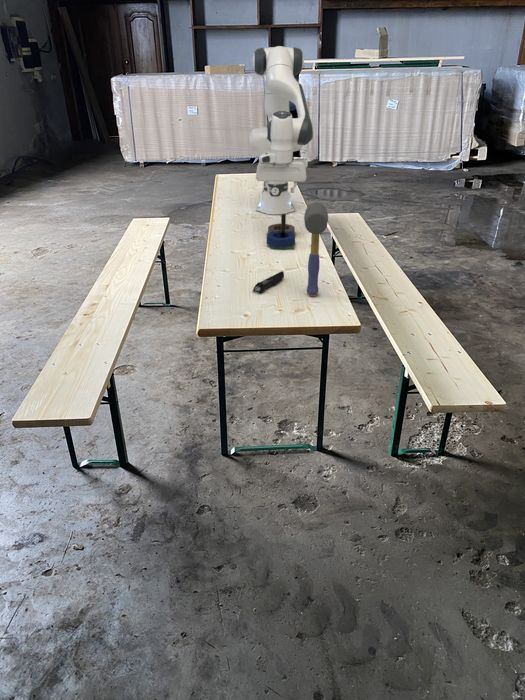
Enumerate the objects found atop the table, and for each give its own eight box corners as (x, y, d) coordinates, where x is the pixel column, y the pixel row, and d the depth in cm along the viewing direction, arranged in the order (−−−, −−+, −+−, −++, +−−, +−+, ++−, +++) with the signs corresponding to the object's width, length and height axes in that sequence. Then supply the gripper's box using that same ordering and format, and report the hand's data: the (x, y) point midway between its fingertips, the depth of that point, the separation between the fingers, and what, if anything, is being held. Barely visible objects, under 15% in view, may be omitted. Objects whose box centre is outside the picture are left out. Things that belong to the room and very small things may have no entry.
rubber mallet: (323, 303, 172) (329, 211, 156) (300, 302, 172) (304, 211, 157) (323, 288, 182) (328, 200, 167) (301, 287, 183) (304, 200, 168)
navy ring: (268, 237, 225) (268, 230, 223) (295, 238, 224) (295, 231, 222) (265, 246, 215) (265, 239, 213) (294, 247, 214) (294, 240, 212)
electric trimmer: (286, 280, 189) (287, 271, 187) (261, 294, 178) (261, 285, 176) (278, 277, 191) (278, 269, 189) (252, 291, 180) (252, 283, 178)
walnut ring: (268, 230, 237) (269, 223, 236) (294, 230, 237) (294, 223, 235) (267, 238, 227) (267, 231, 226) (294, 239, 227) (294, 232, 225)
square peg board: (272, 241, 224) (273, 210, 217) (294, 242, 224) (294, 211, 217) (271, 248, 216) (271, 217, 210) (293, 249, 216) (294, 217, 209)
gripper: (307, 155, 210) (306, 190, 217) (256, 154, 211) (256, 189, 218) (307, 158, 204) (306, 194, 212) (255, 158, 206) (255, 193, 213)
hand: (280, 192), depth 215 cm, fingers open, 8 cm apart
